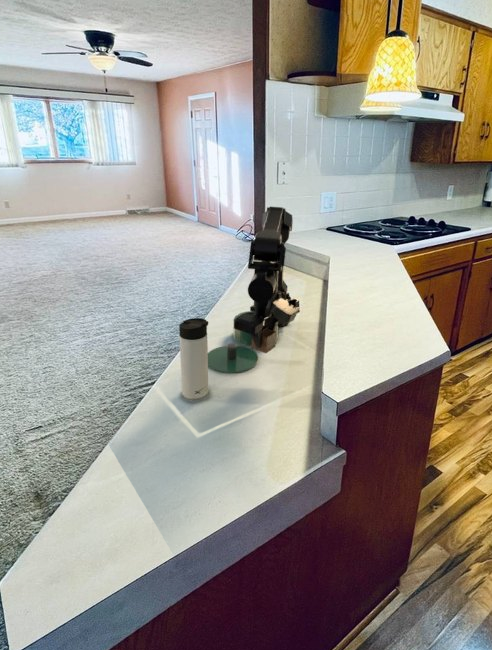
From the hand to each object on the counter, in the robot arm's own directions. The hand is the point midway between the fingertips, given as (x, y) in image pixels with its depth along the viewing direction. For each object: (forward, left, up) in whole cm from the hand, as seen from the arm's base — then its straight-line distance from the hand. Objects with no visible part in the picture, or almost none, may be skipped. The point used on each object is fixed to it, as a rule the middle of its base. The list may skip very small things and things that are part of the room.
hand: (263, 344), depth 106 cm
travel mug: (+18, -2, -10) cm, 21 cm away
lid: (+2, -11, -9) cm, 15 cm away
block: (0, 0, -1) cm, 1 cm away
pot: (-12, -19, -10) cm, 25 cm away
